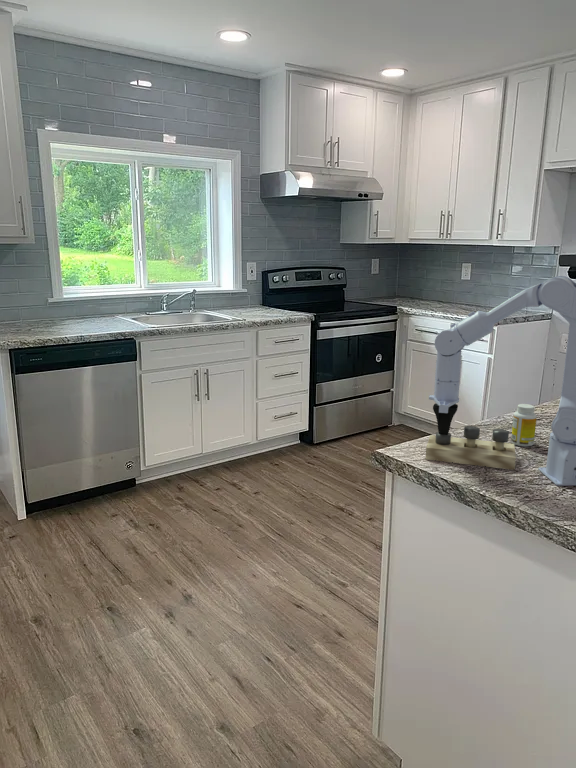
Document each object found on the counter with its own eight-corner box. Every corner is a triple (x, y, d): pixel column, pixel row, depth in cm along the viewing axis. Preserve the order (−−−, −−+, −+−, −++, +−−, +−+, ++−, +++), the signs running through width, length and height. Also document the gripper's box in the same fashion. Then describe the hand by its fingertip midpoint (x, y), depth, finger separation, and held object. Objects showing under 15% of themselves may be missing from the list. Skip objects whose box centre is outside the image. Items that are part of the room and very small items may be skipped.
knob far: (450, 452, 143) (451, 432, 141) (449, 457, 139) (450, 436, 138) (435, 450, 144) (436, 430, 143) (433, 455, 140) (435, 435, 139)
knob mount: (512, 455, 141) (514, 443, 140) (514, 469, 132) (515, 457, 131) (429, 446, 147) (430, 435, 147) (425, 459, 138) (426, 447, 137)
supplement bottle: (537, 444, 149) (542, 406, 147) (526, 448, 146) (530, 410, 143) (517, 438, 153) (521, 401, 151) (506, 443, 150) (510, 405, 148)
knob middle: (478, 447, 140) (480, 426, 139) (478, 452, 137) (479, 431, 136) (462, 445, 141) (464, 425, 140) (462, 450, 138) (463, 429, 137)
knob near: (506, 450, 138) (508, 429, 137) (507, 455, 135) (509, 434, 134) (490, 448, 139) (492, 428, 138) (490, 453, 136) (492, 432, 135)
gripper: (433, 372, 145) (429, 423, 148) (427, 384, 132) (423, 441, 135) (462, 374, 143) (458, 426, 146) (459, 387, 130) (454, 444, 133)
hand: (443, 433), depth 140 cm, fingers closed
